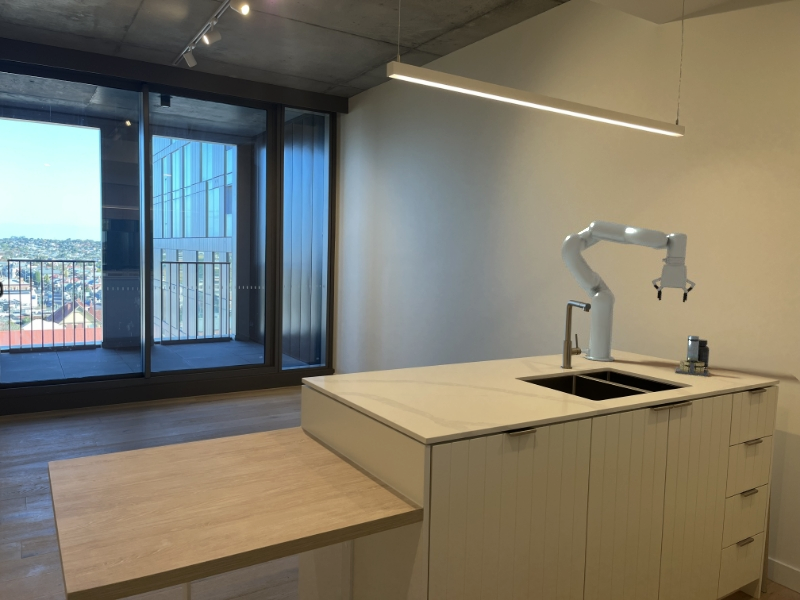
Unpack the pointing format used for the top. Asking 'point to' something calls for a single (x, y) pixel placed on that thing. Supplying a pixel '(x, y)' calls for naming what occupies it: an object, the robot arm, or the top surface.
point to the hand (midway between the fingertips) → (671, 301)
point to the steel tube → (692, 349)
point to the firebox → (691, 368)
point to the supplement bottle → (703, 352)
